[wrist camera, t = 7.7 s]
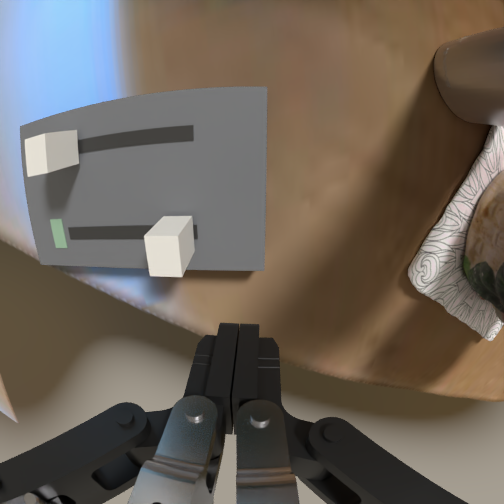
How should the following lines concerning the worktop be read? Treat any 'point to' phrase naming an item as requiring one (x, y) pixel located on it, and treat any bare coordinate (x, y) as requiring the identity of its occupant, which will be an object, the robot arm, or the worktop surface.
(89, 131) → the slider control panel
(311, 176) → the worktop surface
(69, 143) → the block
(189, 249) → the block
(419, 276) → the cookie jar
